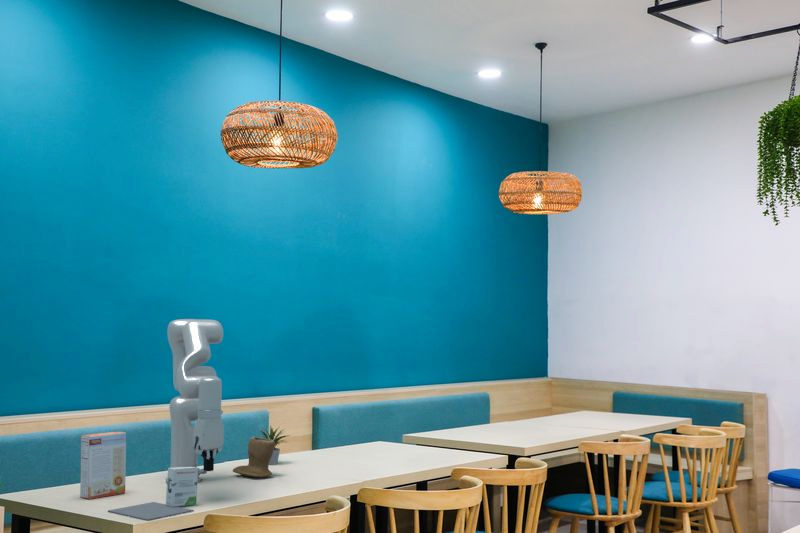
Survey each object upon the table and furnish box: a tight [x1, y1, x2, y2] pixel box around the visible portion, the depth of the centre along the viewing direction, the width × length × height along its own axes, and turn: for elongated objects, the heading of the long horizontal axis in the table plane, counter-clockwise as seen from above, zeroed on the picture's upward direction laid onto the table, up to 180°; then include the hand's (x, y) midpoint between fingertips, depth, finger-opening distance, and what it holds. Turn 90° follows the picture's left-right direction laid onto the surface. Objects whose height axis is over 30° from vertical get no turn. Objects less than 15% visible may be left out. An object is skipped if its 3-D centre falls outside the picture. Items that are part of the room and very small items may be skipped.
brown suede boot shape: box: [232, 436, 276, 478], centre depth 331 cm, size 15×12×15 cm
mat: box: [107, 501, 195, 521], centre depth 266 cm, size 17×20×1 cm
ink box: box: [165, 467, 199, 507], centre depth 276 cm, size 9×5×12 cm, turn 131°
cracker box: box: [79, 430, 127, 500], centre depth 292 cm, size 14×6×21 cm, turn 140°
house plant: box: [260, 425, 291, 466], centre depth 359 cm, size 14×14×16 cm
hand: (208, 470), depth 285 cm, fingers closed
